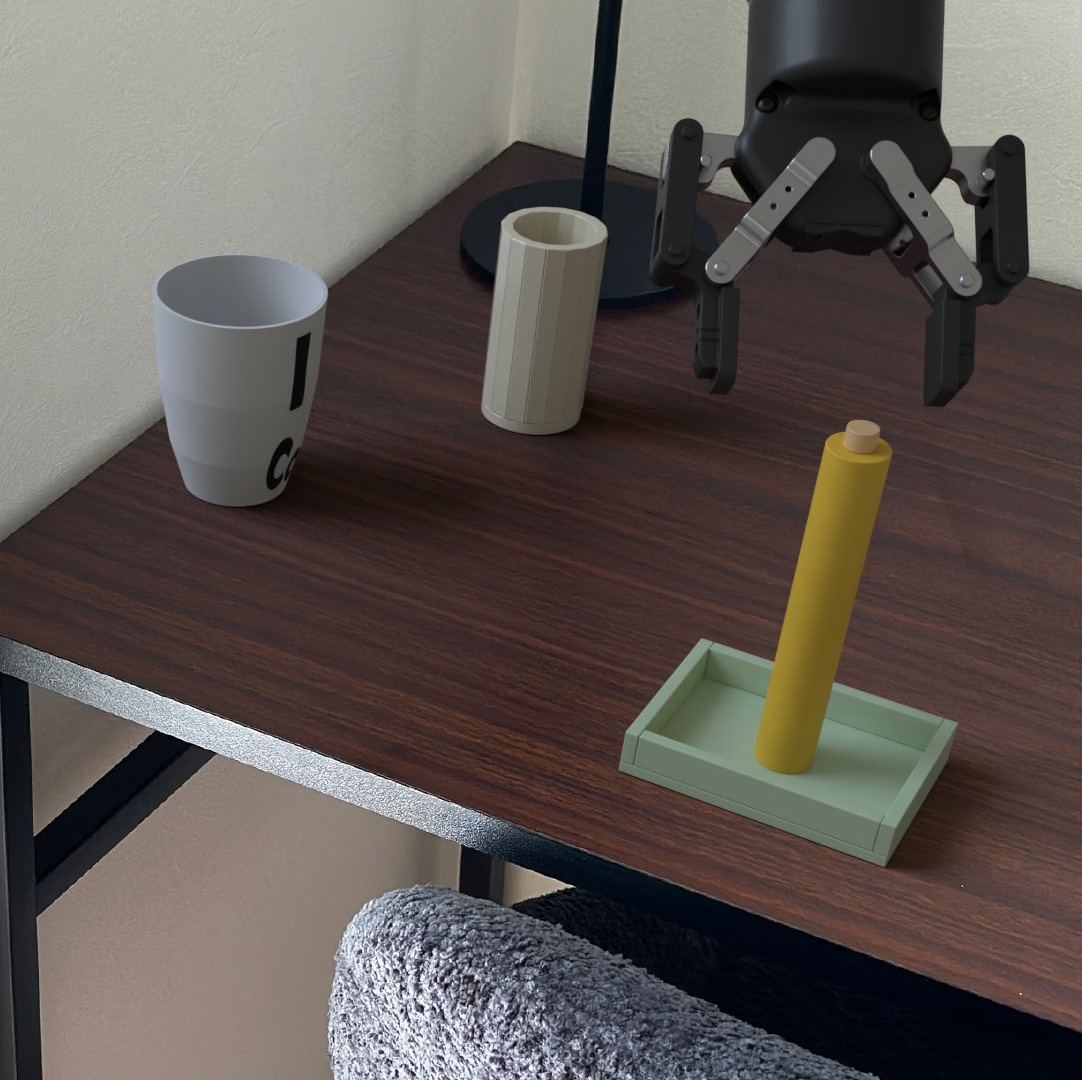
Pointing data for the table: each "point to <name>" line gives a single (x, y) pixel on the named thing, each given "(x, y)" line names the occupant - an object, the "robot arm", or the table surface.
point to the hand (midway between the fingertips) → (831, 395)
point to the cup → (238, 370)
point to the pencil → (822, 596)
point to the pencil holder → (542, 319)
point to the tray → (776, 798)
